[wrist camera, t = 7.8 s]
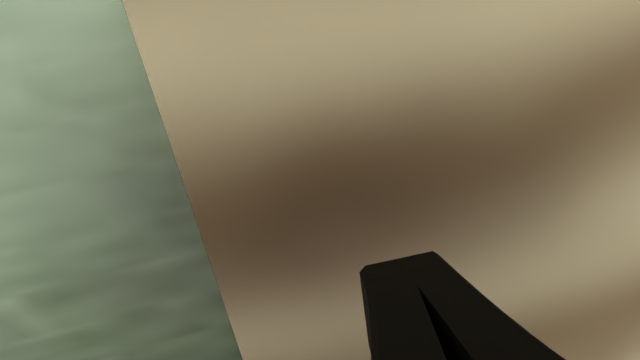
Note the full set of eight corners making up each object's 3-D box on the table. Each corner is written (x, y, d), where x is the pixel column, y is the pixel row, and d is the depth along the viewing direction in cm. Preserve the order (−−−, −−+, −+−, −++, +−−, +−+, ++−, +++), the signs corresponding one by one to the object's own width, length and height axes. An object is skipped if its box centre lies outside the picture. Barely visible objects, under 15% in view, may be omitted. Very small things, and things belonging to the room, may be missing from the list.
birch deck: (584, 301, 21) (656, 388, 18) (271, 378, 20) (284, 483, 17) (680, -460, 11) (899, -604, 7) (47, -361, 10) (-37, -470, 7)
